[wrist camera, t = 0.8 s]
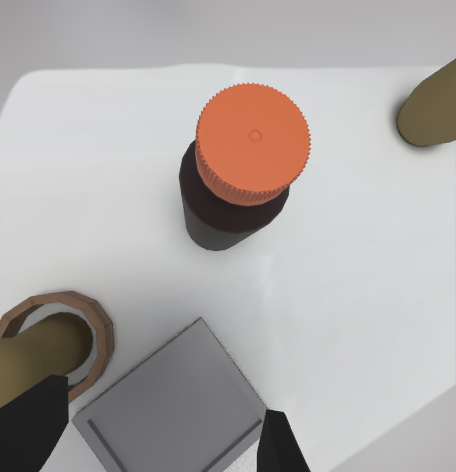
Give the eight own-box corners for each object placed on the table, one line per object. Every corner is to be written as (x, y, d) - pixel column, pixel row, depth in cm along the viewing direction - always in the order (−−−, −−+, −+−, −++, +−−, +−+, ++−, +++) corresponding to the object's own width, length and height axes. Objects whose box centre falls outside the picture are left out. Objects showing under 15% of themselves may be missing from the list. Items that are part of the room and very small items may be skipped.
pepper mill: (104, 329, 28) (49, 365, 17) (71, 385, 27) (-9, 461, 16) (51, 301, 28) (-39, 321, 17) (15, 357, 27) (-104, 416, 16)
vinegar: (257, 228, 32) (363, 158, 12) (209, 263, 30) (238, 250, 11) (222, 180, 32) (270, 34, 12) (173, 213, 31) (137, 111, 11)
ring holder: (44, 418, 27) (29, 434, 24) (-15, 334, 27) (-36, 340, 24) (133, 351, 28) (127, 358, 26) (76, 272, 29) (65, 272, 26)
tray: (154, 524, 27) (152, 535, 25) (76, 413, 27) (71, 420, 26) (273, 416, 29) (276, 422, 28) (201, 317, 30) (201, 319, 28)
